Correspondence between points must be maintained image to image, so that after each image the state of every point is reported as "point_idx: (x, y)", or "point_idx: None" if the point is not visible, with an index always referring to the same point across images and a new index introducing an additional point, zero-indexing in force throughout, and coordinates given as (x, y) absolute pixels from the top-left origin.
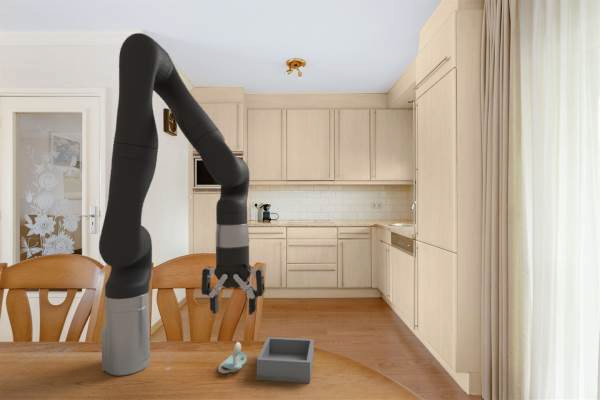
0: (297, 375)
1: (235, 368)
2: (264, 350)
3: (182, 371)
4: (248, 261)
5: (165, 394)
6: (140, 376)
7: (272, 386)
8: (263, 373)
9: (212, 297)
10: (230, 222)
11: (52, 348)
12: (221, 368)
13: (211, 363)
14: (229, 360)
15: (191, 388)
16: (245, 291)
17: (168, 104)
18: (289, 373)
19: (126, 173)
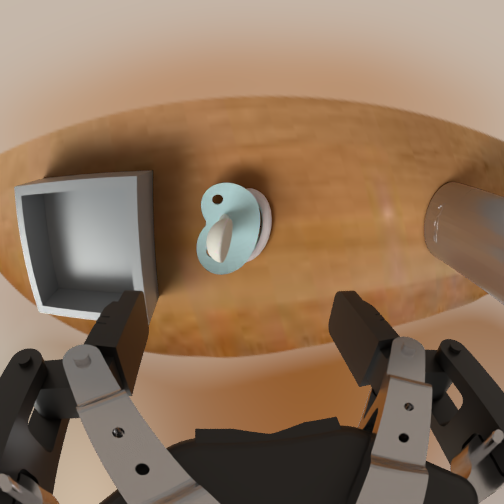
0: (55, 178)
1: (213, 185)
2: (128, 238)
3: (356, 199)
4: None
5: (360, 102)
6: (425, 179)
7: (111, 147)
8: (130, 172)
9: (396, 339)
10: None
11: None
12: (260, 205)
13: (296, 242)
14: (246, 242)
15: (312, 121)
16: (118, 391)
17: None
18: (68, 177)
19: None
